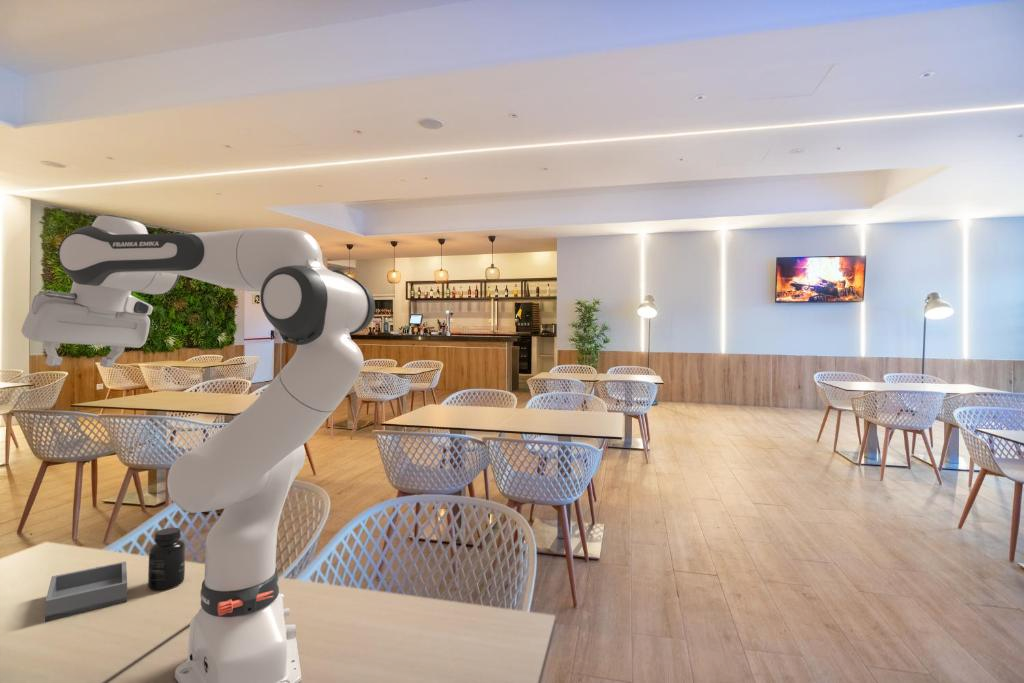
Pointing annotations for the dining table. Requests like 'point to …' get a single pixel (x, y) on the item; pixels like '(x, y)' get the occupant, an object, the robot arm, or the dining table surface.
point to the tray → (86, 590)
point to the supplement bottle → (166, 560)
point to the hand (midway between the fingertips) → (80, 366)
